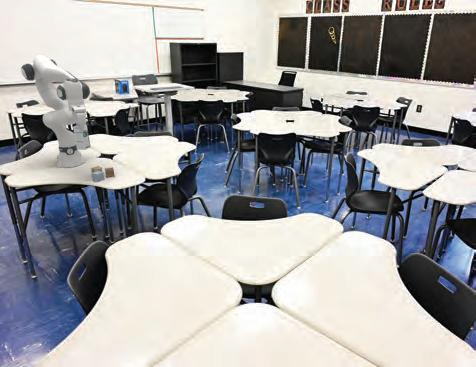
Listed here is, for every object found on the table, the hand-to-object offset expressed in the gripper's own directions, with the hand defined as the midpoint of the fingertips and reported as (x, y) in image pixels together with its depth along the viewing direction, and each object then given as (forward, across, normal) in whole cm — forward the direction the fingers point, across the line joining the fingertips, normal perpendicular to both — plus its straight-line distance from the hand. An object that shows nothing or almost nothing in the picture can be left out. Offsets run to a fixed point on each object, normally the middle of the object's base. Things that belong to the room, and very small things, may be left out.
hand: (80, 130), depth 213 cm
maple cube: (+31, -4, +6) cm, 32 cm away
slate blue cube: (+31, +7, +4) cm, 32 cm away
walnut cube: (+31, +4, +12) cm, 34 cm away
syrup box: (+12, 0, 0) cm, 12 cm away
